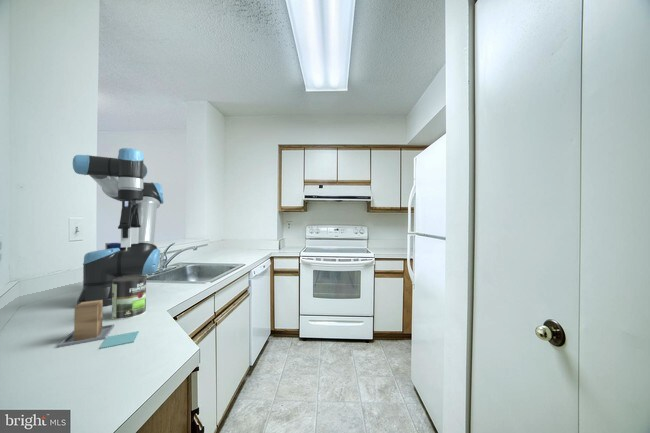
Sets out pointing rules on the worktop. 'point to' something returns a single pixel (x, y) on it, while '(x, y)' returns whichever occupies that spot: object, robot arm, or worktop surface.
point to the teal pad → (119, 339)
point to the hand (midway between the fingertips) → (130, 245)
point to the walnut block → (88, 320)
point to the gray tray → (70, 339)
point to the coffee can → (128, 297)
